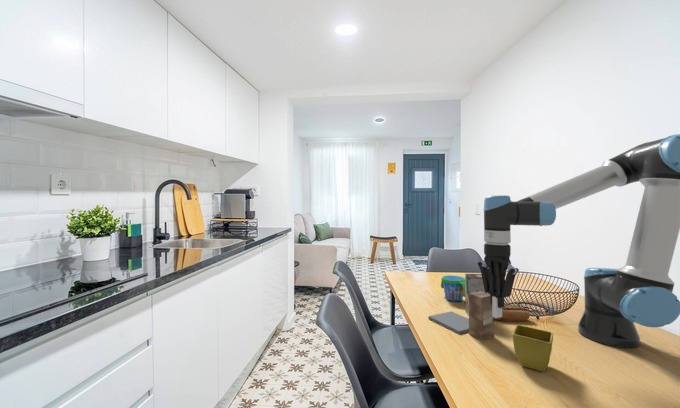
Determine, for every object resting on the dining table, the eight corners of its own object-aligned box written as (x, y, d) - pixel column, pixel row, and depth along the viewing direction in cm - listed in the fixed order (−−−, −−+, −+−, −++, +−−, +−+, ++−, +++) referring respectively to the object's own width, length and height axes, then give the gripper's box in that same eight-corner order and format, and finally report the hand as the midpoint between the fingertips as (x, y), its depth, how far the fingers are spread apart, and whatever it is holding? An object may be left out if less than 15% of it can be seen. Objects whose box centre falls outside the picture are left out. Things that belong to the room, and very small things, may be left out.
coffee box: (488, 321, 111) (487, 279, 111) (470, 319, 113) (469, 278, 113) (481, 312, 120) (481, 273, 120) (464, 311, 121) (464, 272, 122)
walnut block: (494, 336, 98) (494, 295, 98) (481, 340, 95) (481, 297, 96) (481, 331, 103) (481, 291, 103) (469, 334, 100) (468, 293, 100)
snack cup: (434, 295, 143) (434, 274, 143) (453, 293, 146) (453, 273, 146) (453, 306, 128) (453, 282, 128) (474, 304, 131) (474, 281, 131)
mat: (483, 327, 105) (483, 325, 105) (459, 334, 100) (459, 331, 100) (451, 313, 119) (451, 311, 119) (428, 318, 114) (428, 316, 114)
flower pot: (517, 354, 87) (517, 323, 87) (553, 364, 81) (553, 331, 81) (512, 366, 80) (512, 333, 80) (551, 378, 74) (551, 343, 74)
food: (493, 321, 111) (493, 308, 111) (488, 316, 117) (488, 303, 117) (532, 323, 110) (532, 310, 110) (525, 317, 115) (525, 305, 115)
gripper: (471, 241, 98) (472, 311, 98) (508, 246, 86) (508, 326, 86) (487, 240, 101) (487, 308, 101) (524, 245, 90) (524, 322, 89)
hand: (497, 316), depth 94 cm, fingers closed
